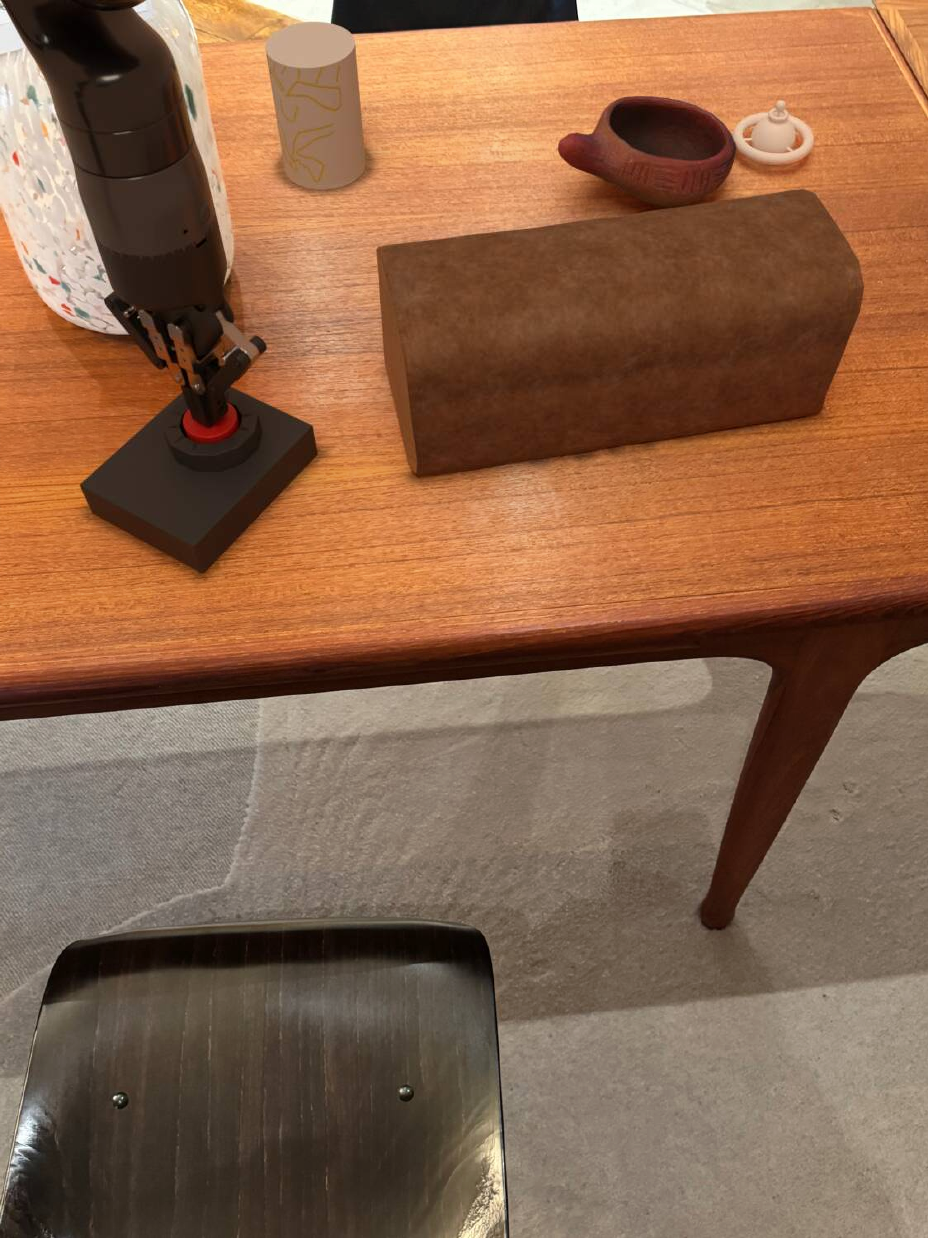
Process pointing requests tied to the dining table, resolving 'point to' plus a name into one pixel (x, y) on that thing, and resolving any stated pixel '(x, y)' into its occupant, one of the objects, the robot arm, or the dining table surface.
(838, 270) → the bread
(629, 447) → the dining table surface
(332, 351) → the dining table surface
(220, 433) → the power button
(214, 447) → the red push button box
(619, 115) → the bowl
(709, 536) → the dining table surface
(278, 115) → the cup
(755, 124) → the ring around a ball
